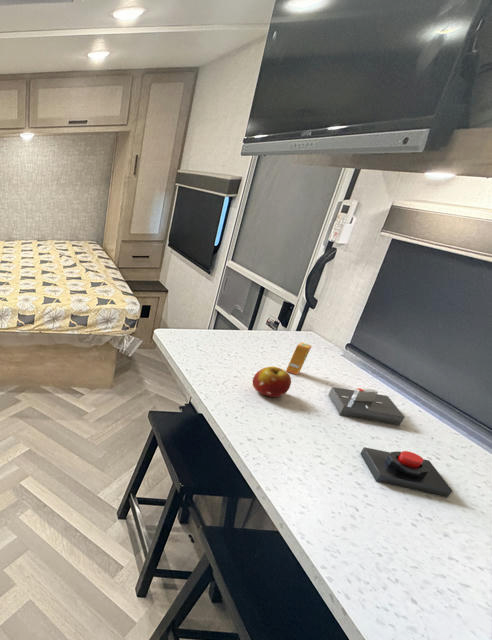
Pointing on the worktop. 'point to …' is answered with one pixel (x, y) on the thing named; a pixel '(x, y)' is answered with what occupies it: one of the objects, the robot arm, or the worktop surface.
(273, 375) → the fruit
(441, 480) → the switch
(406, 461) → the button
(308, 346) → the supplement box
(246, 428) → the worktop surface
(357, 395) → the stove knob
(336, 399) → the panel
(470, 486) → the worktop surface
